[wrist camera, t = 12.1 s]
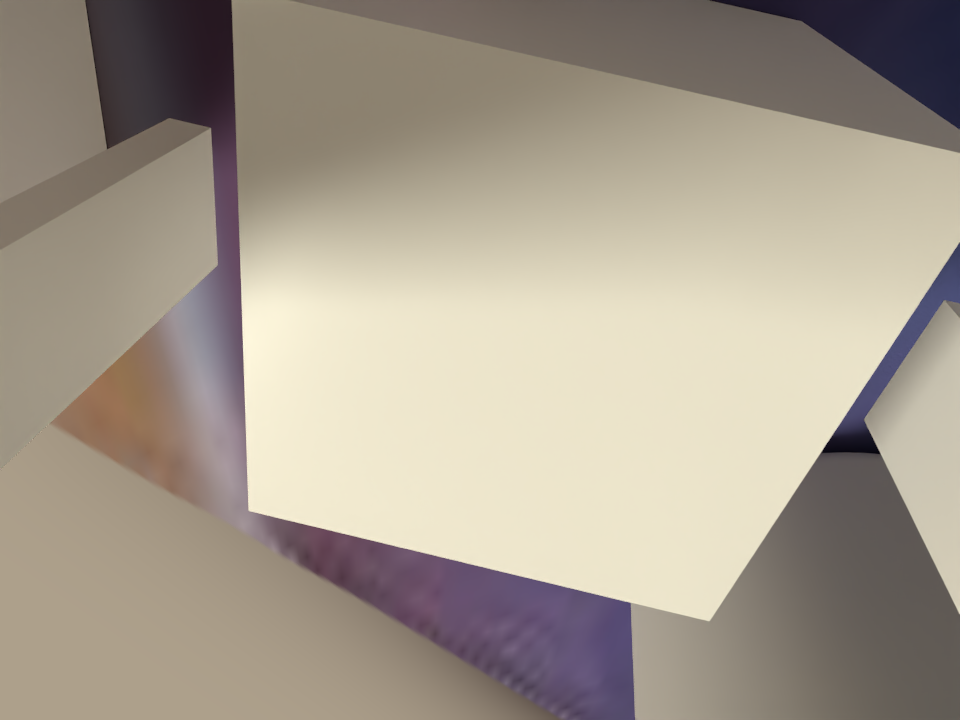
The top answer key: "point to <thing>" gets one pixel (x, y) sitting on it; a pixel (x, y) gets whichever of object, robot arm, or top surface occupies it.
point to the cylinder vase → (815, 618)
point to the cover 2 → (568, 275)
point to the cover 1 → (46, 92)
